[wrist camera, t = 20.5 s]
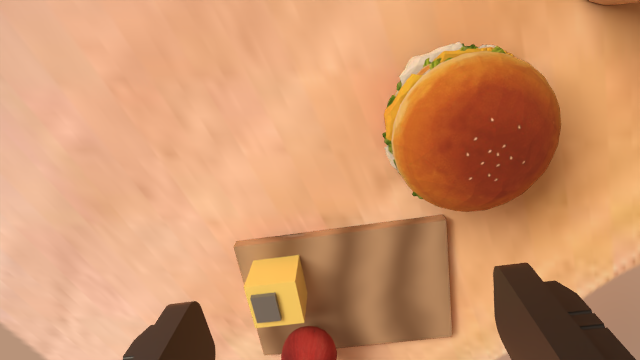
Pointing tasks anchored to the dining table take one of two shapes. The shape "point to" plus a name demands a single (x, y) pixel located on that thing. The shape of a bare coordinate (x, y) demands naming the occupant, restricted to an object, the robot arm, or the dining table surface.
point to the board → (365, 281)
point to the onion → (309, 345)
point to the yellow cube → (276, 291)
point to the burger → (471, 126)
